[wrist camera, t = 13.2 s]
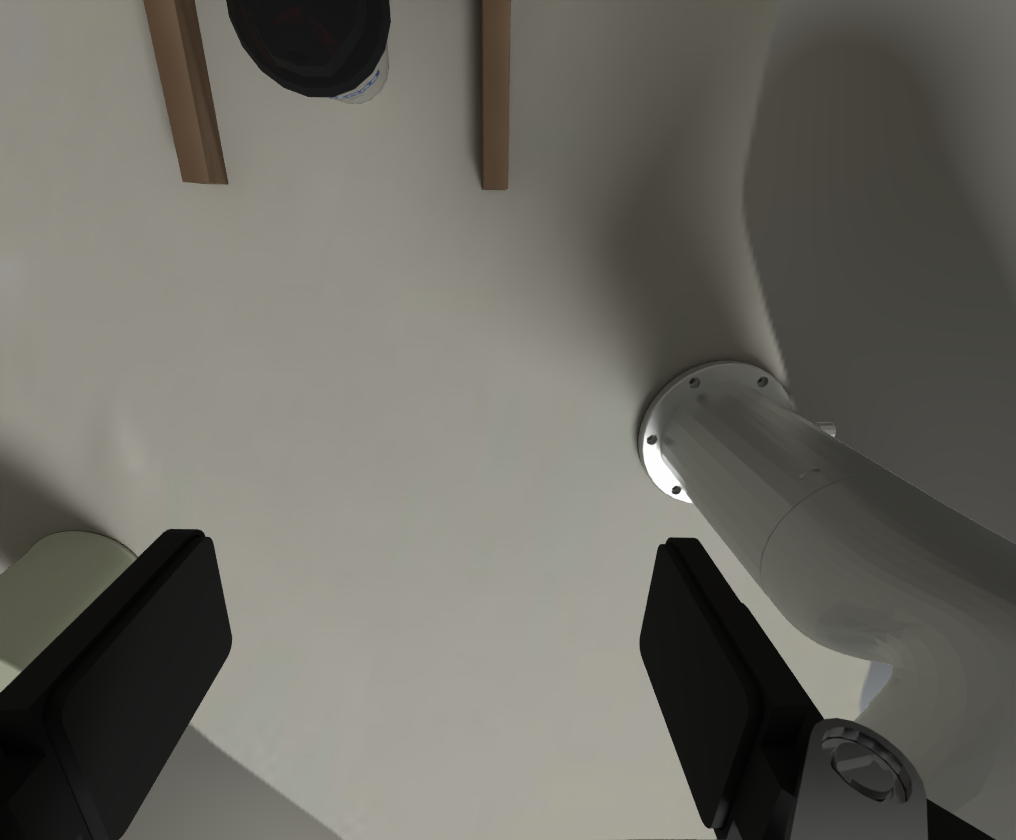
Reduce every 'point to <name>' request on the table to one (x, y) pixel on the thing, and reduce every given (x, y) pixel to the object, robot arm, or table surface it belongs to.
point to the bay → (195, 109)
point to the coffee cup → (317, 44)
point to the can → (52, 592)
